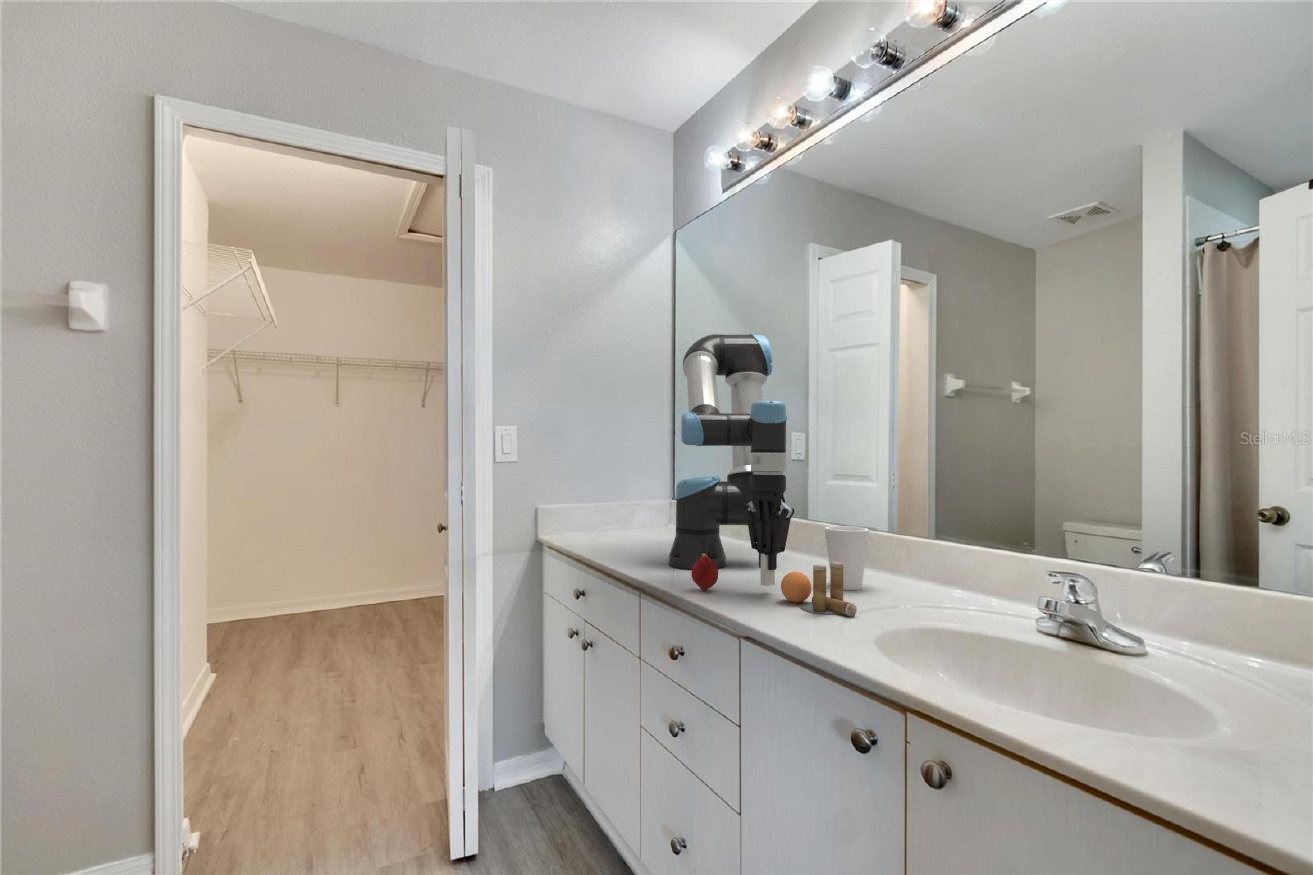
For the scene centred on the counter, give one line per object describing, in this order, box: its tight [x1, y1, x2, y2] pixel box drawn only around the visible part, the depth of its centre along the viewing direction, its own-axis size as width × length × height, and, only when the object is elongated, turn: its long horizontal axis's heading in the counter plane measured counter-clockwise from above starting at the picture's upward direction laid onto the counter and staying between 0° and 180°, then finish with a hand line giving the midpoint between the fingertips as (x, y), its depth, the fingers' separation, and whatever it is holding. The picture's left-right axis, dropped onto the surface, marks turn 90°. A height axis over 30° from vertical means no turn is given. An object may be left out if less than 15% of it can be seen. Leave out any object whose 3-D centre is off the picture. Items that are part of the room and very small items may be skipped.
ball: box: [780, 571, 812, 603], centre depth 120 cm, size 6×6×6 cm
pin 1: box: [812, 564, 827, 612], centre depth 113 cm, size 2×2×9 cm
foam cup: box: [824, 525, 870, 591], centre depth 135 cm, size 10×9×13 cm
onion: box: [690, 553, 719, 592], centre depth 129 cm, size 6×6×8 cm
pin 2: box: [829, 562, 844, 601], centre depth 116 cm, size 2×2×9 cm
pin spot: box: [799, 601, 840, 615], centre depth 115 cm, size 8×8×1 cm
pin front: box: [811, 596, 858, 618], centre depth 113 cm, size 2×2×9 cm
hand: (767, 584), depth 127 cm, fingers closed
